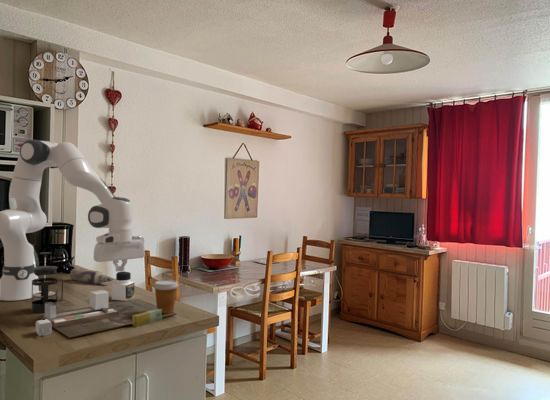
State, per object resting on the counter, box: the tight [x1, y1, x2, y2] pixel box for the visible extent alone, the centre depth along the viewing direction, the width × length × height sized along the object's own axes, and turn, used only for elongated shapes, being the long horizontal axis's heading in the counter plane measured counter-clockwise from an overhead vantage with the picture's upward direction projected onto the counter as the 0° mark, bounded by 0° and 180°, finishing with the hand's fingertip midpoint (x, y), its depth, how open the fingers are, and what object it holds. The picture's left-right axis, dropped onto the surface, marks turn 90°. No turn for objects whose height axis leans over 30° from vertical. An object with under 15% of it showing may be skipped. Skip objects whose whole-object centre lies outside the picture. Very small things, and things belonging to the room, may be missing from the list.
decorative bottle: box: [69, 267, 113, 285], centre depth 215 cm, size 26×8×7 cm, turn 66°
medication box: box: [131, 307, 163, 327], centre depth 153 cm, size 12×3×4 cm, turn 146°
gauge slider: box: [88, 289, 110, 312], centre depth 161 cm, size 10×5×6 cm, turn 45°
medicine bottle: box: [110, 270, 135, 302], centre depth 185 cm, size 7×7×12 cm
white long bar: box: [44, 302, 107, 320], centre depth 157 cm, size 6×21×5 cm, turn 135°
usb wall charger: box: [35, 319, 53, 337], centre depth 137 cm, size 4×7×4 cm, turn 41°
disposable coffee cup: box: [153, 279, 179, 315], centre depth 167 cm, size 10×10×12 cm
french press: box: [30, 251, 64, 314], centre depth 165 cm, size 12×9×23 cm
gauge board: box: [42, 306, 120, 329], centre depth 157 cm, size 13×23×2 cm, turn 135°
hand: (119, 270), depth 168 cm, fingers closed
